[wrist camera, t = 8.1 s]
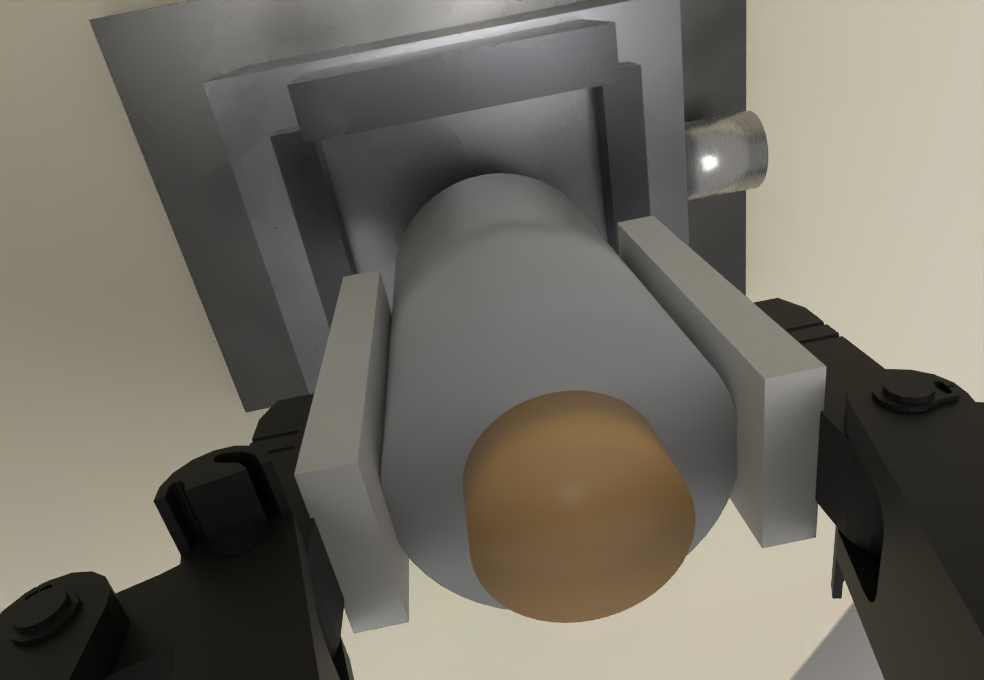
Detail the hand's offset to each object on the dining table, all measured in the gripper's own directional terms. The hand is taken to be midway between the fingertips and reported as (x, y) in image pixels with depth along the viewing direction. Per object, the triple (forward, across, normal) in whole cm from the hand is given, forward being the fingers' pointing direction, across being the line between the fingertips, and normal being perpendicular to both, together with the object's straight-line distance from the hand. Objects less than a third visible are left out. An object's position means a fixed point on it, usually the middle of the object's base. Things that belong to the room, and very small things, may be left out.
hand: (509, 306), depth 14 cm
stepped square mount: (+11, 0, 0) cm, 11 cm away
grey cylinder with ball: (+2, 0, 0) cm, 2 cm away
